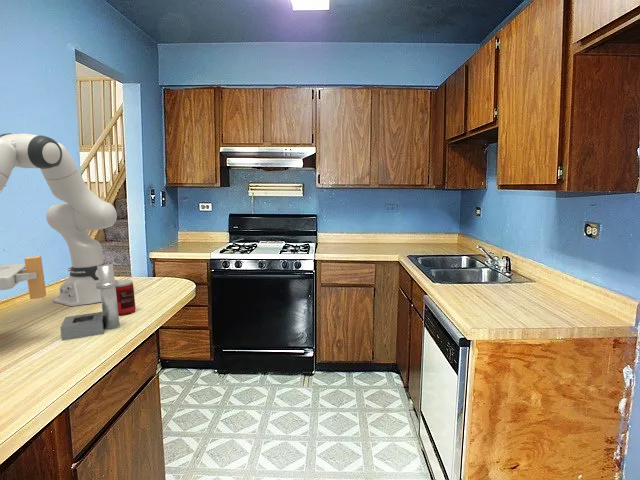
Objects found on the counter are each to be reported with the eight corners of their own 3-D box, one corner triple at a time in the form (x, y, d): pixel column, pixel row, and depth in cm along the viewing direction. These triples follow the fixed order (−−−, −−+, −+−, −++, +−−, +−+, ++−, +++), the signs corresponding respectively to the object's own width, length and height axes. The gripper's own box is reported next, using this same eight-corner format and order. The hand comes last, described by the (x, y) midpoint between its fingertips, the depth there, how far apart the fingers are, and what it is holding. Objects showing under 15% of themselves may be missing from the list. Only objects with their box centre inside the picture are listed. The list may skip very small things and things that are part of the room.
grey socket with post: (61, 340, 124) (53, 274, 121) (67, 329, 134) (58, 267, 131) (122, 330, 131) (115, 267, 128) (123, 320, 141) (116, 261, 138)
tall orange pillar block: (30, 299, 123) (24, 259, 121) (32, 296, 126) (27, 257, 124) (44, 297, 124) (38, 257, 123) (46, 294, 127) (41, 255, 126)
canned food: (116, 310, 153) (113, 280, 151) (139, 308, 153) (136, 279, 152) (107, 316, 145) (104, 285, 144) (131, 315, 146) (128, 284, 144)
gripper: (-34, 276, 109) (29, 269, 115) (-10, 262, 128) (43, 257, 133) (-30, 299, 110) (32, 292, 116) (-7, 282, 129) (46, 277, 134)
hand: (38, 273), depth 125 cm, fingers closed on tall orange pillar block, 3 cm apart
